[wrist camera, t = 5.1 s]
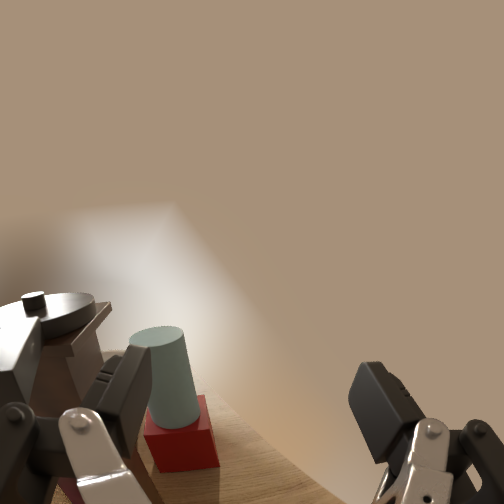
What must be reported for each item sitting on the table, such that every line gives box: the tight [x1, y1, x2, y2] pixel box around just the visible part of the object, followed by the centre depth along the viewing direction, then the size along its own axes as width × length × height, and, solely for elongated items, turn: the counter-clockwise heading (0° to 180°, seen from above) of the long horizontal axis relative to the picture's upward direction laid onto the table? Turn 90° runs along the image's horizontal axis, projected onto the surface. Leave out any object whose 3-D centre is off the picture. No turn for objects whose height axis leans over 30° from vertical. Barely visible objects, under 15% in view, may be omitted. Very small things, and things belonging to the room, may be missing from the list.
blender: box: [129, 326, 220, 473], centre depth 40 cm, size 10×10×23 cm
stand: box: [28, 302, 165, 504], centre depth 19 cm, size 10×10×32 cm
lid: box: [0, 292, 97, 408], centre depth 14 cm, size 18×10×2 cm, turn 33°
